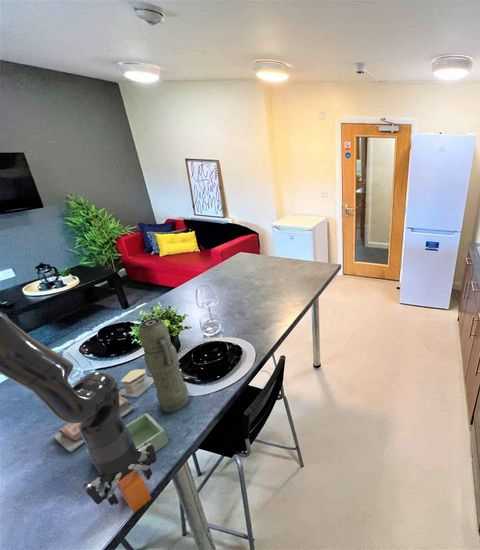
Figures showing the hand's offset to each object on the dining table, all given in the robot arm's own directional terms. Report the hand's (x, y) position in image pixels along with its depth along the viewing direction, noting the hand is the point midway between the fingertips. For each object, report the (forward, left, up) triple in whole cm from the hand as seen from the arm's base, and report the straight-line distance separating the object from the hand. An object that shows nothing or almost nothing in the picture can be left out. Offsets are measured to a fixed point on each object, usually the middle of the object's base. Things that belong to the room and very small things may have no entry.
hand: (132, 489), depth 76 cm
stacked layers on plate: (+18, +44, -4) cm, 48 cm away
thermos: (+22, +24, -4) cm, 33 cm away
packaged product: (+3, +36, -4) cm, 36 cm away
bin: (+5, +16, -4) cm, 17 cm away
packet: (0, 0, -4) cm, 4 cm away
